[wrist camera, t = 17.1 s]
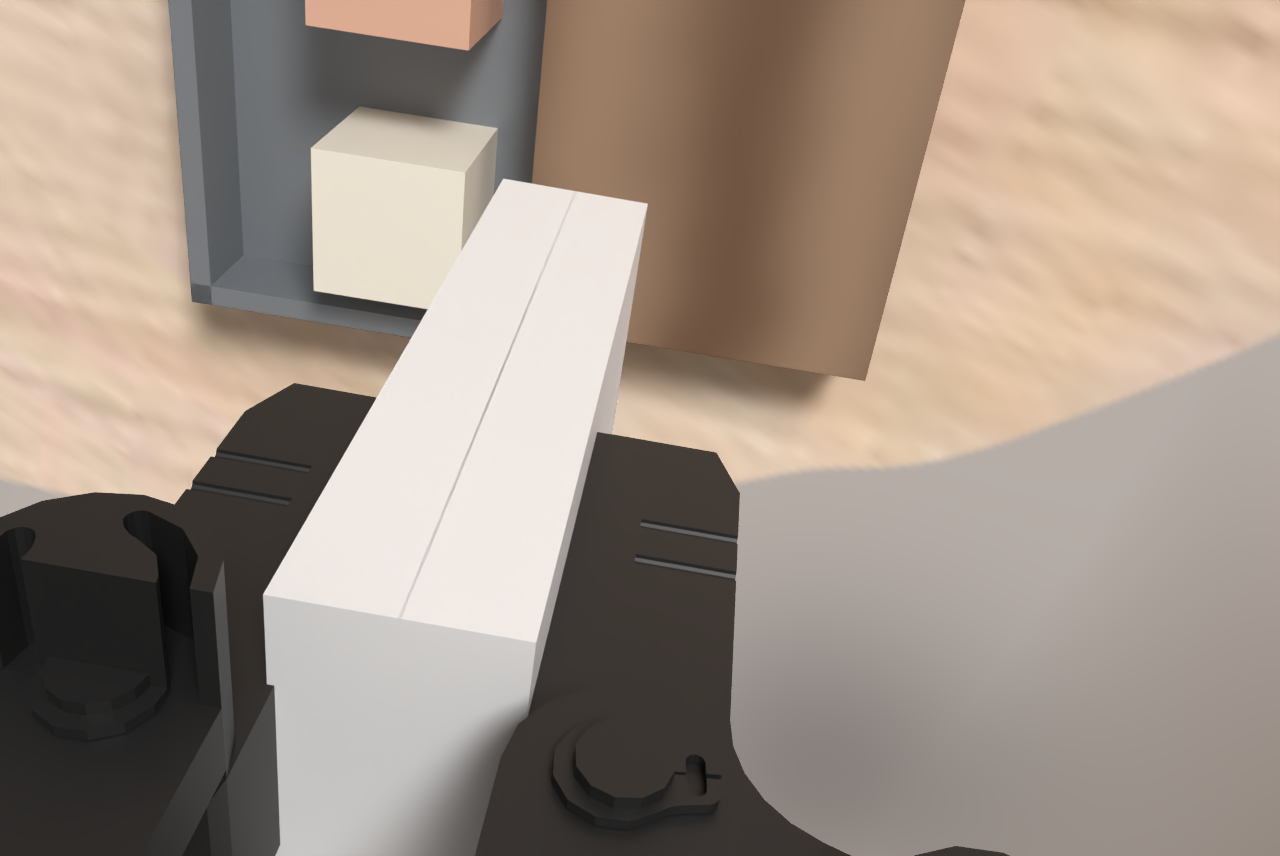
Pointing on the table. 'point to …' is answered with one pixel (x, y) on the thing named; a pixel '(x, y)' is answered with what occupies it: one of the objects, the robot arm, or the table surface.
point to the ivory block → (396, 203)
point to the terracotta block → (409, 19)
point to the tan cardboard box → (750, 160)
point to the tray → (318, 136)
